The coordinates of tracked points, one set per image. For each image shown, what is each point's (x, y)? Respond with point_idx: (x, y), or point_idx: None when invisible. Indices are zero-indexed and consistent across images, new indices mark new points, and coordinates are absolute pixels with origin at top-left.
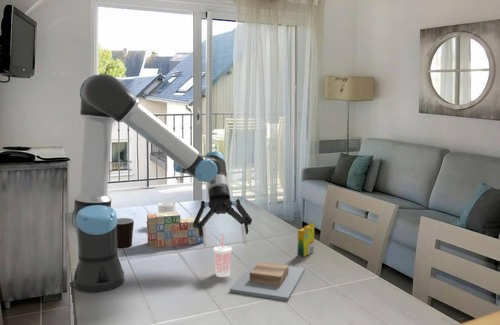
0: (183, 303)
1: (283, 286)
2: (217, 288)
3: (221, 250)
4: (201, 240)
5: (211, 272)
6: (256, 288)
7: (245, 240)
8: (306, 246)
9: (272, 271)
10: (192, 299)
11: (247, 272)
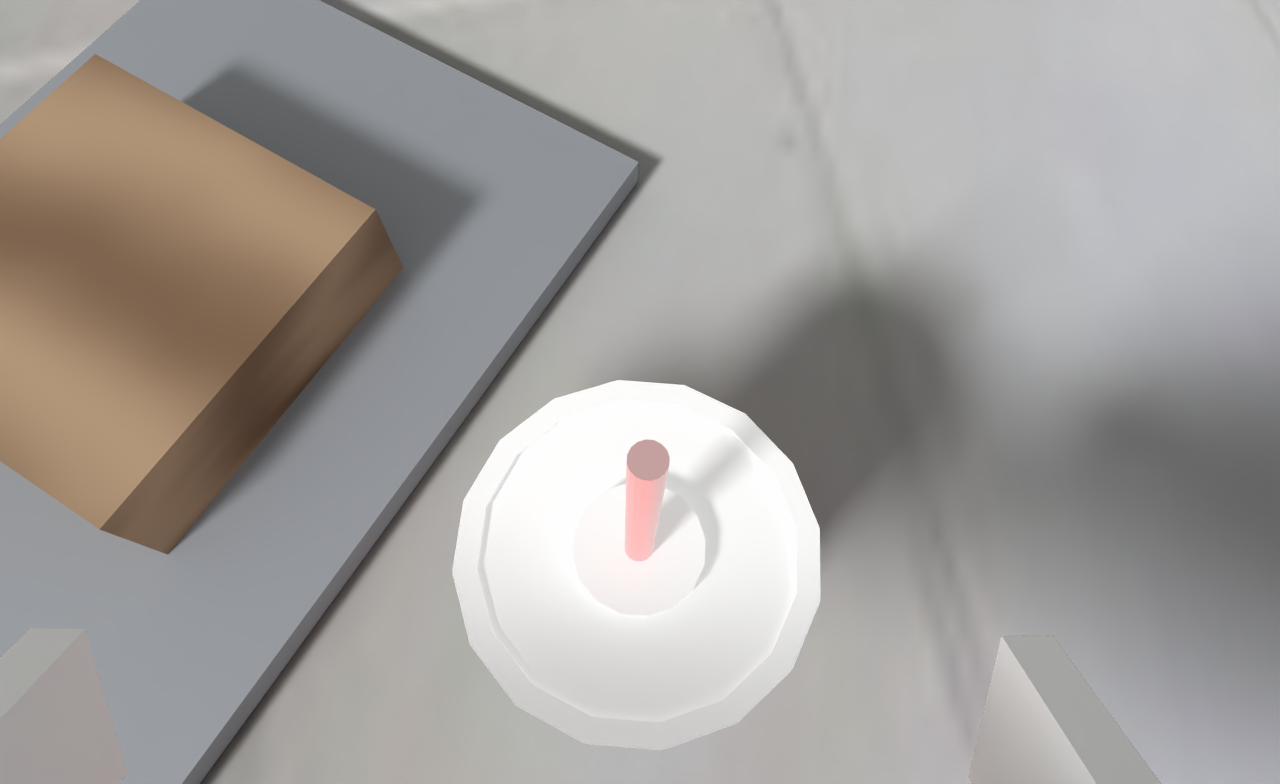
0: (1037, 75)
1: None
2: (739, 272)
3: (677, 454)
4: None
5: (762, 712)
6: (391, 124)
7: (64, 631)
8: None
9: (103, 192)
10: (969, 121)
11: (336, 513)
